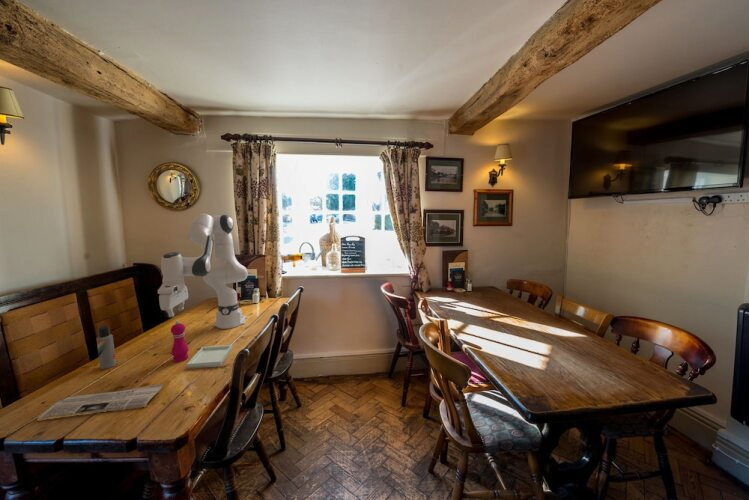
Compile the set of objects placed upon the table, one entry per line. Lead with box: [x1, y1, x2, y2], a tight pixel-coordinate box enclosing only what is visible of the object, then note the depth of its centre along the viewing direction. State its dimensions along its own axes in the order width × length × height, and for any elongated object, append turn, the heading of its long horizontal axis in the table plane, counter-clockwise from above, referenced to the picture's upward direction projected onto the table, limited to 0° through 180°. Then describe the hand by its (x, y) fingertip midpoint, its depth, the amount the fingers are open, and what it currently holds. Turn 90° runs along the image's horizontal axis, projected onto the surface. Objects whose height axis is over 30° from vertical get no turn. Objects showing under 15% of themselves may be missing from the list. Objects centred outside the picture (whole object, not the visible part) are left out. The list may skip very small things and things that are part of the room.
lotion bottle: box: [96, 325, 117, 370], centre depth 139 cm, size 6×6×20 cm
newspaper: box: [37, 382, 164, 419], centre depth 114 cm, size 35×12×4 cm, turn 103°
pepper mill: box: [170, 320, 189, 363], centre depth 147 cm, size 7×7×20 cm
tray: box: [186, 344, 233, 370], centre depth 148 cm, size 18×15×2 cm
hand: (176, 313), depth 145 cm, fingers open, 8 cm apart
